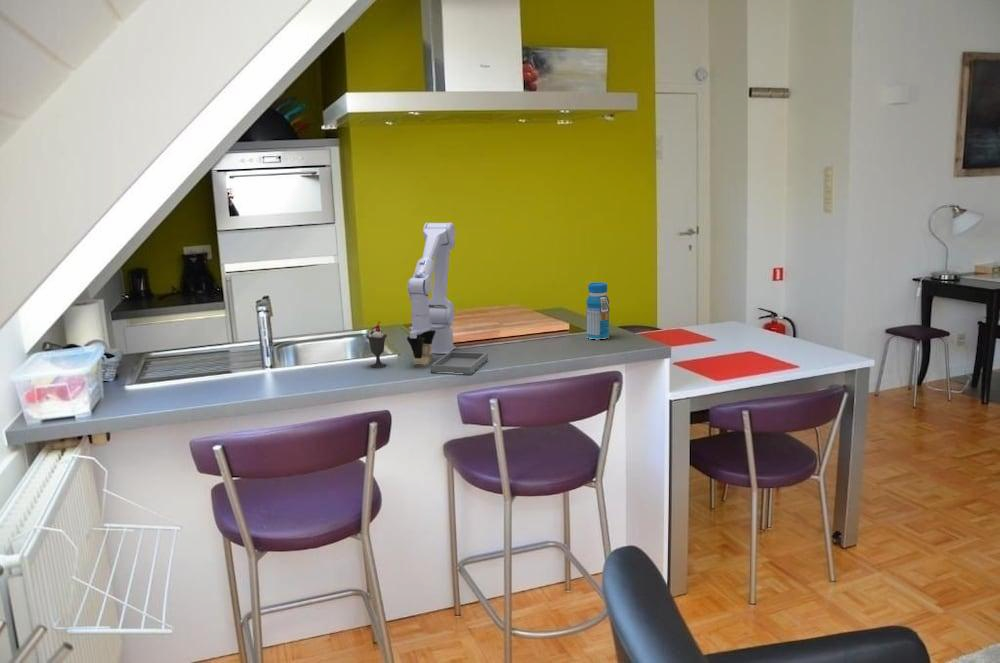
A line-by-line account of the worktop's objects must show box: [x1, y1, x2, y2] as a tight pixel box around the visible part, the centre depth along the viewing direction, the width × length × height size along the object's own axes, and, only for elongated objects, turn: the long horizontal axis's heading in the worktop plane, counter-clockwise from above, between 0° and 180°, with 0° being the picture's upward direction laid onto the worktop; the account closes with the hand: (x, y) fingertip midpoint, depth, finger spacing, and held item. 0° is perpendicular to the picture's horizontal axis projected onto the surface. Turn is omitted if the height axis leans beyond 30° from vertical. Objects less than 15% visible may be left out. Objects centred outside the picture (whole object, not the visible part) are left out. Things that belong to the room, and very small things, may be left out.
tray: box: [430, 351, 489, 376], centre depth 250 cm, size 18×13×2 cm
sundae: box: [365, 321, 388, 369], centre depth 252 cm, size 7×7×15 cm
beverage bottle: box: [585, 281, 611, 340], centre depth 282 cm, size 8×8×20 cm
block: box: [413, 344, 433, 365], centre depth 255 cm, size 4×4×6 cm
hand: (422, 355), depth 255 cm, fingers open, 7 cm apart
